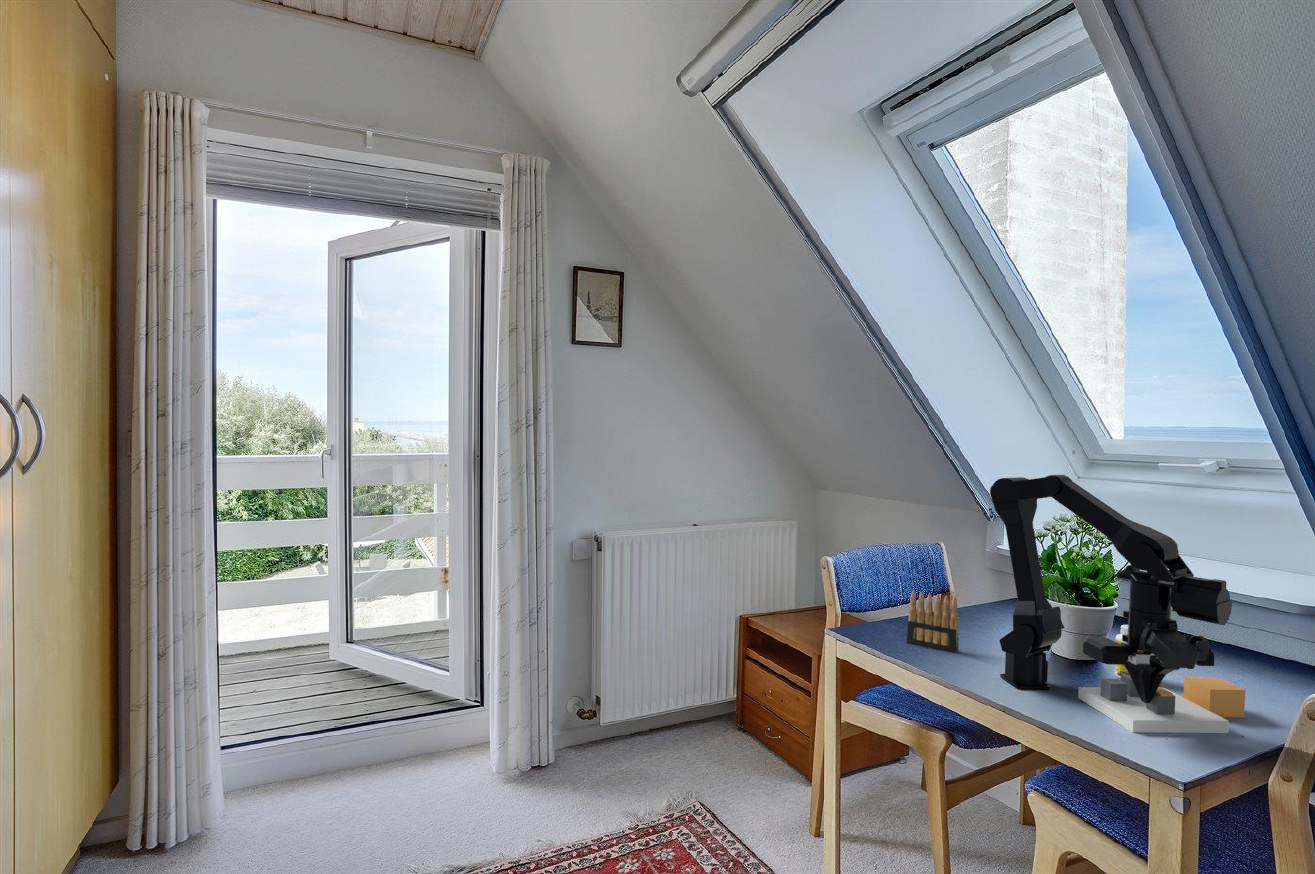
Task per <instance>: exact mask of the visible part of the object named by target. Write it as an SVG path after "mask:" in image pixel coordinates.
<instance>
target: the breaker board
mask: <svg viewBox="0 0 1315 874" xmlns="http://www.w3.org/2000/svg"><path fill="white" fill-rule="evenodd" d="M1162 688H1163V689H1165V690H1167V691H1169V692H1171V693H1173V695H1174V696H1175V714H1156V713H1154V712H1152V711H1151V710H1149V709H1147V708H1146V703H1144V702H1142V701H1141V699H1140V697H1139V694H1138V692H1137V690H1136V688H1135V685H1134V683H1133V681H1132V679H1131V677H1130V675H1121V679H1119V678H1100V686H1099V687H1098V686H1096V687H1095V686H1093V687H1092V686H1091V687H1090V686H1083V687H1082V686H1080V687H1079V686H1078V693H1077V695H1078V699H1079V700H1081V701H1082V702H1084V703H1085V704H1087V705H1089V706H1090V707H1092V708H1093V709H1095V710H1097V711H1098V712H1099V713H1101V714H1103V715H1105V716H1106V717H1108V718H1109V719H1111V720H1113V721H1114V722H1115V723H1117V724H1119V725H1120V726H1122V727H1123V728H1125V729H1127V730H1129V731H1130V732H1131V733H1141V734H1142V733H1146V734H1147V733H1151V734H1152V733H1154V734H1155V733H1156V734H1157V733H1161V734H1167V733H1169V734H1171V733H1173V734H1176V733H1177V734H1229V731H1230V730H1229V728H1230V721H1229V720H1228V719H1226V718H1225V717H1220V716H1218V715H1216V714H1214V713H1212V712H1210V711H1208V710H1206V709H1204V708H1202V707H1201V706H1199V705H1197V704H1195V703H1193V702H1191V701H1189V700H1187V699H1185V698H1183V697H1184V696H1183V697H1182V696H1181V695H1178V694H1177V693H1175V692H1173V691H1171V690H1169V689H1167V688H1165V687H1162Z"/></svg>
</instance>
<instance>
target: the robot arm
mask: <svg viewBox="0 0 1315 874" xmlns="http://www.w3.org/2000/svg"><path fill="white" fill-rule="evenodd" d="M989 494H990V499H991V501H992V504H993V507H994V511H995V513H996V514H997V515H998V517H999V519H1000V520H1001V521H1002V522H1003V524H1004V526H1005V533H1006V537H1007V544H1008V549H1009V556H1010V562H1011V569H1012V575H1013V579H1014V586H1015V591H1016V599H1017V600H1016V603H1015V607H1014V610H1013V613H1012V631H1010V632H1008V633H1007V634H1006V635H1004V636H1003V637H1001V638H1000V639H999V644H1000V648H1001V651H1002V652H1004V653H1005V655H1004V656H1005V660H1004V661H1005V662H1004V673H1000V674H999V675H1000V678H1001V679H1003V680H1004V681H1006V682H1008V683H1009V684H1010V685H1011V686H1013V687H1014V688H1016V689H1024V690H1025V689H1028V690H1030V689H1031V690H1032V689H1034V690H1035V689H1036V690H1038V689H1039V690H1045V689H1046V690H1049V689H1051V685H1050V684H1048V677H1049V661H1048V660H1047V653H1046V652H1049V651H1051V648H1052V647H1053V645H1054V644H1055V643H1057V642H1058V641H1059V640H1060V638H1061V637H1062V635H1063V634H1062V630H1063V629H1065V626H1064V624H1063V622H1062V616H1061V615H1062V611H1061V610H1062V609H1061V607H1060V606H1052V604H1051V603H1050V602H1049V600H1048V599H1047V597H1046V592H1045V587H1044V581H1043V576H1042V570H1041V564H1040V559H1039V551H1038V545H1037V542H1036V540H1037V539H1036V534H1035V530H1034V519H1035V516H1036V511H1037V509H1038V499H1045V498H1046V499H1047V498H1052V499H1054V500H1055V501H1056V502H1057V503H1059V504H1060V505H1062V506H1063V507H1065V508H1066V509H1068V510H1069V511H1070V512H1072V513H1073V514H1075V516H1077V517H1079V518H1080V519H1082V521H1084V522H1086V524H1088V525H1090V526H1091V527H1093V528H1094V529H1096V530H1097V531H1098V532H1100V533H1102V535H1104V536H1105V537H1106V538H1107V539H1109V541H1110V542H1111V543H1112V545H1113V547H1114V548H1115V549H1116V552H1117V553H1119V555H1121V557H1123V559H1125V561H1127V562H1128V563H1129V564H1130V565H1129V564H1128V565H1126V567H1125V568H1123V570H1120V571H1119V572H1118V573H1116V574H1115V577H1116V578H1117V579H1121V580H1122V579H1123V580H1127V581H1129V597H1128V598H1129V599H1128V610H1123V612H1122V617H1123V618H1125V619H1127V620H1128V624H1127V625H1128V635H1122V641H1125V642H1127V643H1128V645H1121V644H1119V643H1117V642H1115V640H1113V639H1110V638H1108V637H1087V638H1086V639H1085V640H1084V642H1083V645H1082V646H1083V647H1082V653H1083V654H1084V655H1086V656H1088V657H1090V658H1092V659H1094V660H1095V661H1098V662H1100V663H1101V664H1104V665H1113V666H1114V665H1124V666H1125V667H1126V669H1127V671H1128V673H1129V675H1130V677H1131V679H1132V681H1133V683H1134V685H1135V688H1136V690H1137V692H1138V694H1139V697H1140V699H1141V701H1142V702H1144V703H1150V702H1151V700H1152V698H1153V697H1154V695H1155V693H1156V691H1157V689H1158V687H1160V685H1161V683H1162V681H1163V680H1164V678H1165V677H1166V675H1168V674H1169V673H1172V672H1174V671H1179V670H1180V669H1188V670H1193V669H1195V667H1196V666H1199V667H1215V664H1216V663H1215V662H1216V660H1215V659H1216V655H1215V652H1214V651H1213V649H1212V648H1211V647H1210V646H1209V640H1208V639H1207V638H1206V637H1205V636H1203V635H1191V636H1188V635H1181V634H1180V633H1179V631H1178V627H1179V625H1178V623H1177V620H1175V619H1174V618H1171V616H1172V615H1171V614H1172V613H1171V612H1176V614H1177V615H1178V616H1179V617H1182V618H1185V619H1192V620H1195V621H1201V622H1205V623H1210V624H1214V625H1215V624H1216V625H1219V626H1225V625H1227V623H1228V622H1229V620H1230V617H1231V614H1232V609H1233V600H1232V599H1231V595H1230V592H1229V590H1228V588H1227V581H1226V580H1224V579H1218V578H1217V579H1216V578H1215V579H1209V578H1203V577H1197V576H1194V573H1193V572H1192V570H1191V569H1190V568H1189V566H1188V565H1187V563H1186V562H1185V561H1184V559H1183V558H1182V556H1180V553H1179V547H1178V546H1179V545H1178V543H1177V542H1176V541H1175V540H1174V539H1173V538H1172V537H1170V536H1169V535H1167V534H1164V533H1162V532H1161V531H1158V530H1156V529H1154V528H1152V527H1149V526H1146V525H1144V524H1141V523H1138V522H1136V521H1133V520H1131V519H1129V518H1127V517H1126V516H1124V515H1123V514H1122V513H1120V512H1118V511H1117V510H1115V509H1114V508H1112V507H1111V506H1109V505H1108V504H1107V503H1105V502H1104V501H1102V500H1101V499H1099V498H1098V497H1096V496H1095V495H1093V494H1092V493H1090V492H1089V491H1087V490H1086V489H1084V488H1083V487H1081V486H1080V485H1078V484H1077V483H1076V482H1074V481H1073V480H1072V478H1071V477H1069V476H1067V475H1065V474H1050V475H1047V476H1045V477H1039V478H1026V477H1024V476H1023V477H1022V476H1020V477H1019V476H1017V477H1001V478H998V479H997V480H996V481H994V482H993V484H992V485H991V486H990V489H989ZM1138 650H1140V651H1138Z"/></svg>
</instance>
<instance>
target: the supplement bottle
mask: <svg viewBox="0 0 1315 874" xmlns="http://www.w3.org/2000/svg"><path fill="white" fill-rule="evenodd" d="M1122 635H1128V624H1122V625H1121V626H1120V633H1118V634H1116V636H1115V639H1114V641H1115V642H1117V643H1119V644H1121V645H1128V643H1127V642H1125V641H1122ZM1138 651H1140V650H1138ZM1113 674H1114V676H1115V677H1116V678H1117V679H1119V680H1121V675H1129V673H1128V671H1127V669H1126V667H1125V666H1124V665H1113Z"/></svg>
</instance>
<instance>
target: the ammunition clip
mask: <svg viewBox="0 0 1315 874" xmlns="http://www.w3.org/2000/svg"><path fill="white" fill-rule="evenodd" d="M932 596H933V595H932V593H931V592H929V593H928V595H927V599H926V607H925V595H924V592H923V591H922V590H921V591H920V592H919V597H918V603H917V596H916V591H915V590H912V591H911V595H910V601H909V608H908V621H907V629H906V630H907V631H906V632H907V633H906V641H905V642H906V644H908V645H909V644H910V645H914V646H917V647H918V646H919V647H924V648H928V649H933V650H936V651H937V650H938V651H943V652H946V653H947V652H948V653H953V654H957V653H958V652H959V614H958V613H959V612H958V601H957V598H956V596H954V597H953V599H952V600H951V601H952V603H951V607H950V602H949V597H948V595H945V596H944V598H943V604H942V608H941V602H942V601H941V597H940V594H939V593H937V595H936V596H935V600H934V607H933V597H932ZM933 608H934V610H933ZM950 608H951V609H950Z"/></svg>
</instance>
